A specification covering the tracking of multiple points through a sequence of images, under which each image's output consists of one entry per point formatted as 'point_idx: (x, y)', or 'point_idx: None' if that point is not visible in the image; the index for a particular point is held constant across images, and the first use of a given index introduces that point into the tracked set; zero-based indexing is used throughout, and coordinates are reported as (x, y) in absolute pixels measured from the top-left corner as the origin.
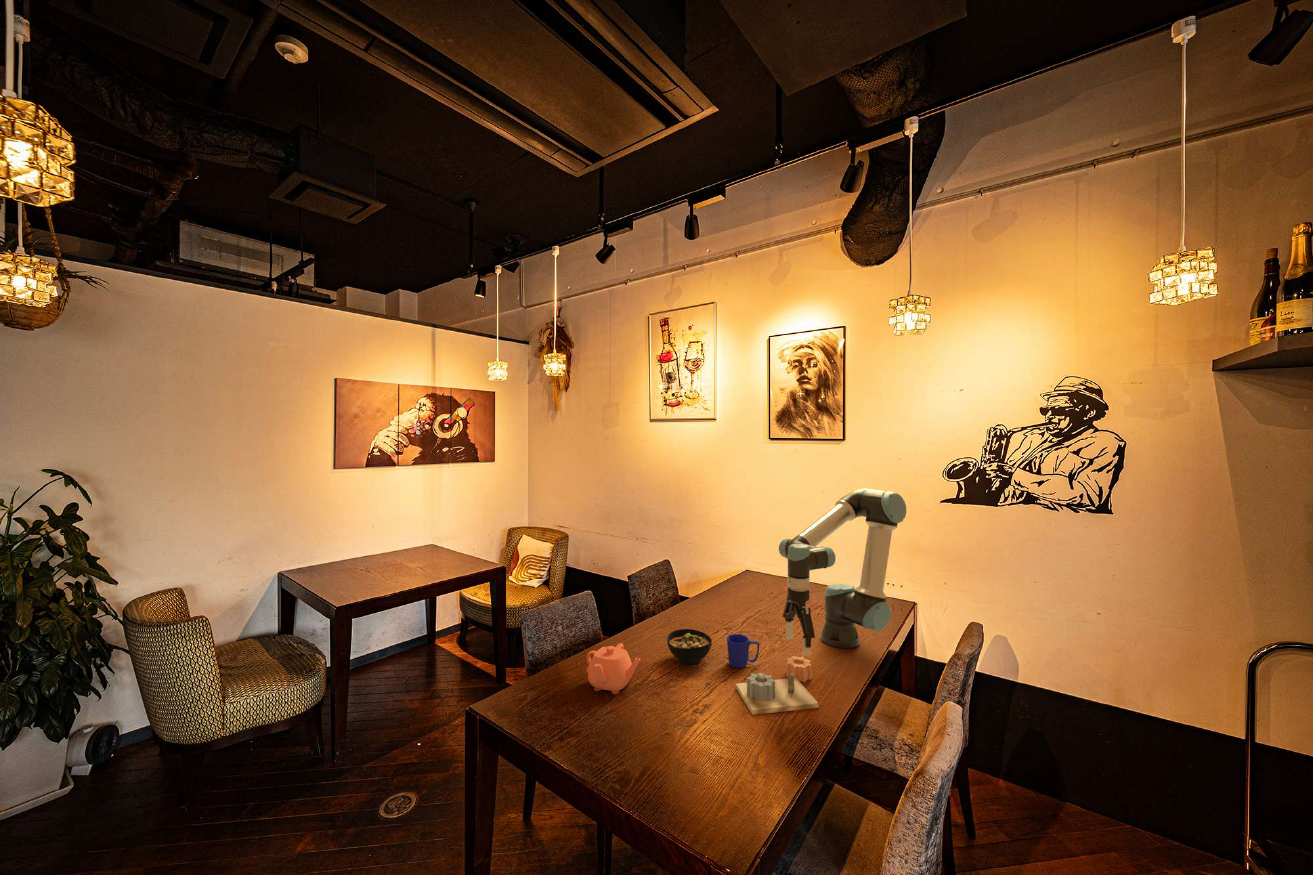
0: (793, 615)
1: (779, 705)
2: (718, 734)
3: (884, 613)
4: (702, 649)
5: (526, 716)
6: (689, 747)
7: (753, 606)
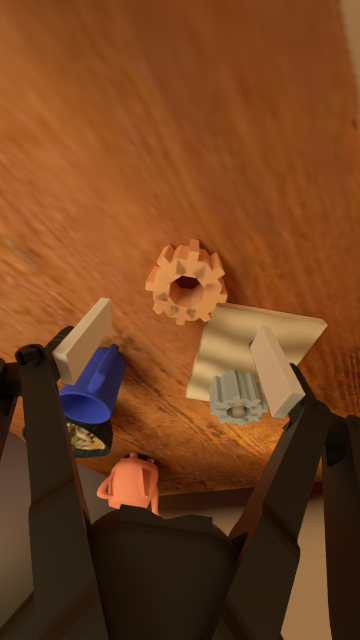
0: (63, 420)
1: None
2: (268, 436)
3: None
4: (107, 437)
5: (168, 488)
6: (268, 453)
7: None
